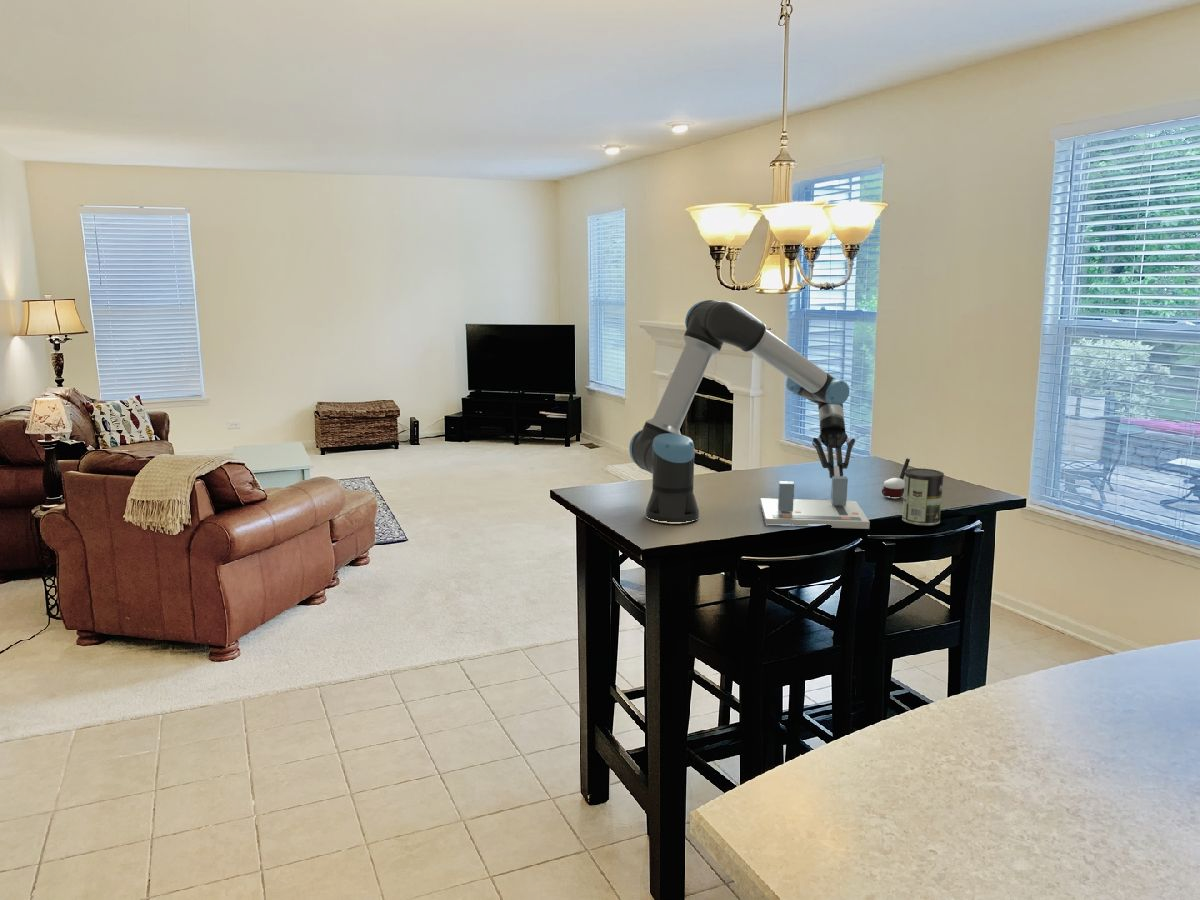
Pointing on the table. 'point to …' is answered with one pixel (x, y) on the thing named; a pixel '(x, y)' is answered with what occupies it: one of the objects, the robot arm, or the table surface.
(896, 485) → the cocoa
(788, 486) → the left switch tab
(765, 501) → the switch panel
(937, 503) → the coffee can
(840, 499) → the right switch tab
